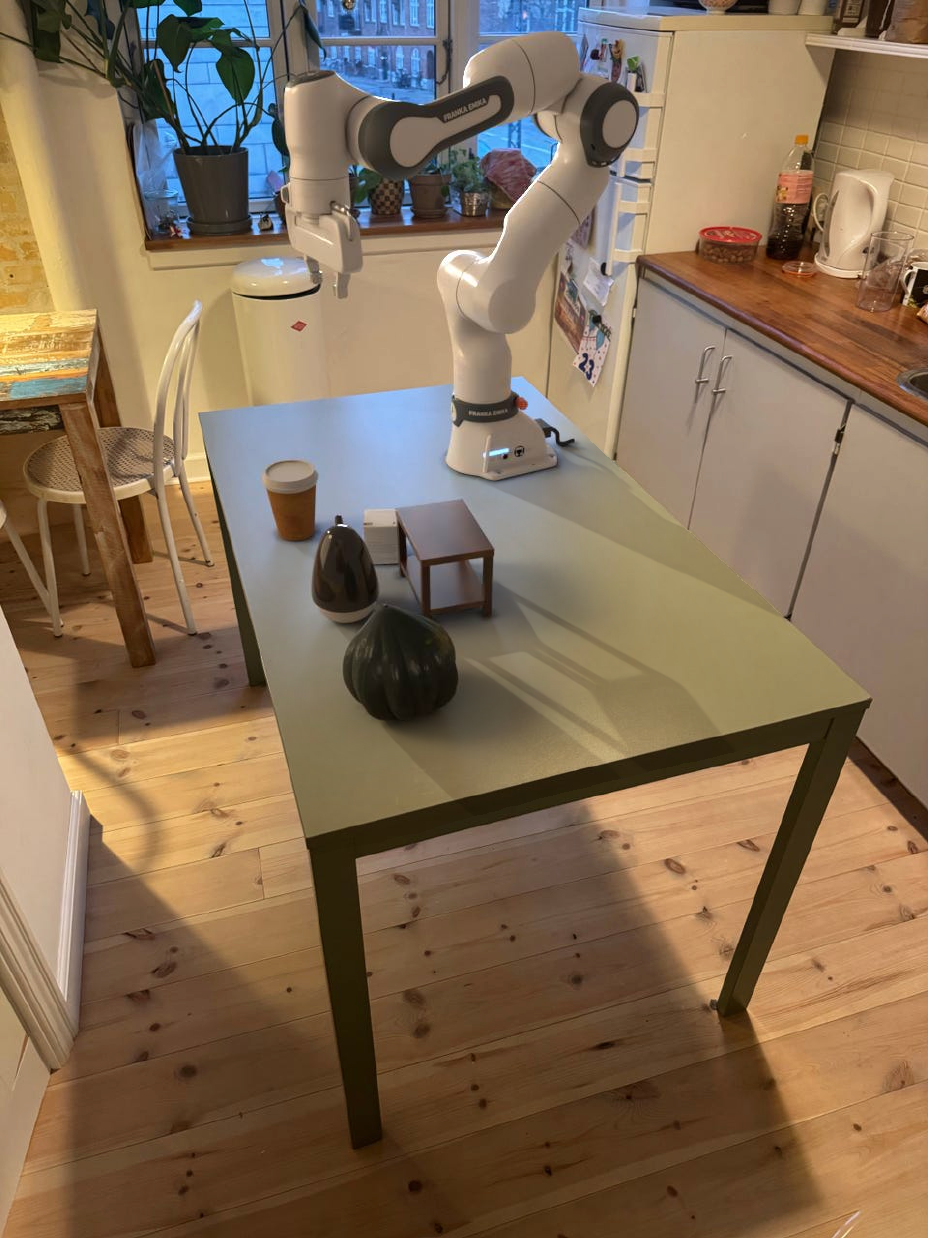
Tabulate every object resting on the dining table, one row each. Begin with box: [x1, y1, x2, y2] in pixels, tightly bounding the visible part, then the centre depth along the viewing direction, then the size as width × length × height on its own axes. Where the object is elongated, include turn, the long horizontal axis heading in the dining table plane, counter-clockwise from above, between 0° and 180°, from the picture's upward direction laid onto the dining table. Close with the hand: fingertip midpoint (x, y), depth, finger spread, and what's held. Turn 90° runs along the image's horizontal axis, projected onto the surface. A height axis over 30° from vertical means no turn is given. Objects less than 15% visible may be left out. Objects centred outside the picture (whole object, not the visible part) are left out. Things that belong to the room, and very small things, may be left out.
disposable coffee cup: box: [261, 458, 319, 542], centre depth 152 cm, size 10×10×12 cm
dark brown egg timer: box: [310, 514, 381, 624], centre depth 131 cm, size 10×10×15 cm
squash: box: [342, 603, 459, 721], centre depth 116 cm, size 14×15×15 cm
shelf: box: [394, 498, 495, 620], centre depth 136 cm, size 11×16×12 cm
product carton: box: [362, 508, 399, 565], centre depth 147 cm, size 6×6×7 cm
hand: (328, 289), depth 142 cm, fingers open, 8 cm apart
